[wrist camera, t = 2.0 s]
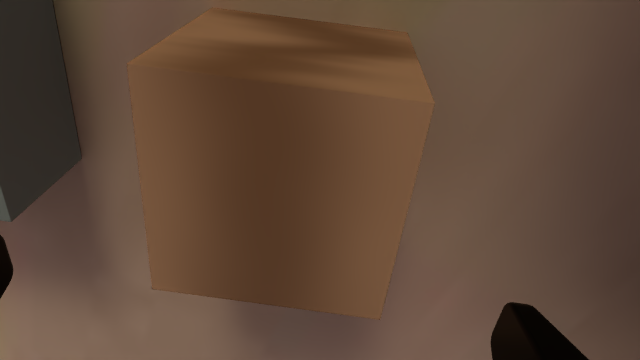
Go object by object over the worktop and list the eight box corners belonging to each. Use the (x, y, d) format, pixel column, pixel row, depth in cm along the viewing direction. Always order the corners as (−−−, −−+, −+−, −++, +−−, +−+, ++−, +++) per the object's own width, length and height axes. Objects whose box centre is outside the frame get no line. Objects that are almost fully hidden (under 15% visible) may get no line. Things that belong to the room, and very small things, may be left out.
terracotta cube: (406, 32, 14) (434, 103, 9) (373, 195, 17) (379, 319, 12) (212, 7, 14) (126, 63, 9) (214, 174, 17) (152, 289, 12)
